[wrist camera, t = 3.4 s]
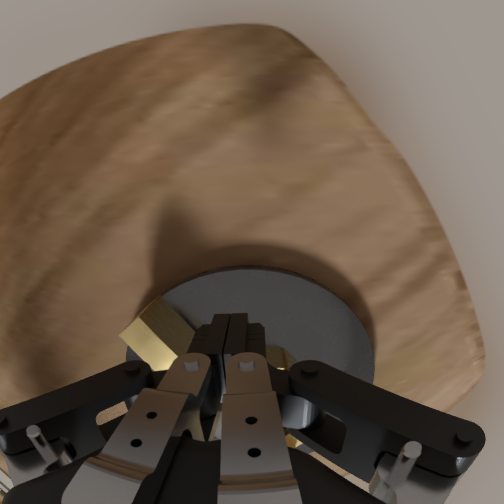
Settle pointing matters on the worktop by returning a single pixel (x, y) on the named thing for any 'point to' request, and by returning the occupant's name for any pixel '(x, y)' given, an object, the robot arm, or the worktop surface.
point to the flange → (278, 316)
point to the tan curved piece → (180, 342)
